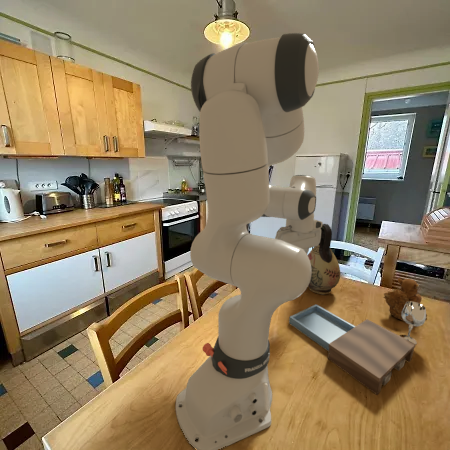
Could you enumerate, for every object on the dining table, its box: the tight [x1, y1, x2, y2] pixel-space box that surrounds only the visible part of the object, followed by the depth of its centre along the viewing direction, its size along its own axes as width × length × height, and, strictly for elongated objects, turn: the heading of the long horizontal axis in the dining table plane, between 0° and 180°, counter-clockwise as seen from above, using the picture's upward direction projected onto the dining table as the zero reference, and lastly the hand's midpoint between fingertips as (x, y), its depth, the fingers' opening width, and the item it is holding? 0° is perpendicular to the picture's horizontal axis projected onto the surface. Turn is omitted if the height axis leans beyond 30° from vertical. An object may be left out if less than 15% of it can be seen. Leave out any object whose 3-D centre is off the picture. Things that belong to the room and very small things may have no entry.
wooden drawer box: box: [327, 318, 417, 396], centre depth 66 cm, size 20×13×5 cm, turn 123°
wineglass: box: [399, 301, 427, 345], centre depth 73 cm, size 6×6×12 cm
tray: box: [288, 304, 357, 352], centre depth 78 cm, size 14×18×2 cm
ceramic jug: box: [307, 223, 341, 296], centre depth 100 cm, size 17×15×30 cm
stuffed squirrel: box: [383, 278, 428, 321], centre depth 86 cm, size 10×14×13 cm
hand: (296, 261), depth 85 cm, fingers open, 5 cm apart
